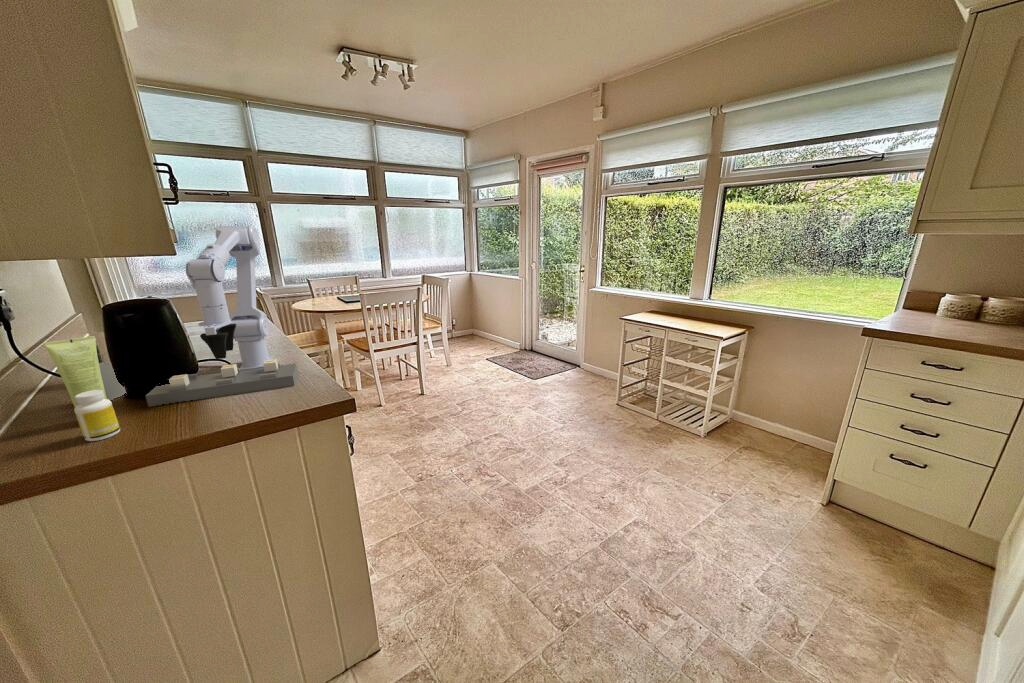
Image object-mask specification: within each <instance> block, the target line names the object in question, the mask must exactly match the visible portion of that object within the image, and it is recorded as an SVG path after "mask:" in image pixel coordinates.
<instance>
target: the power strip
mask: <svg viewBox="0 0 1024 683" xmlns="http://www.w3.org/2000/svg"><path fill="white" fill-rule="evenodd" d="M237 370H238V373H237V375H236V376H231V377H222V373H221V372H220V373H211V374H205V375H198V374H197V373H191V374H187V375H188V378H189V382H190V383H189V384H188V385H187V386H186V385H179V386H171V387H170V384H165V385H161V386H157V385H156V386H155V387H154V388H153V389H151V390H150V391H149V392H148V393H146V395H145V399H146V403H147V406H148V408H149V407H151V408H152V407H157V405H158V406H163V405H162V404H165V405H169V403H172V404H176V403H175V402H179V403H183V402H182V401H186V402H190V400H193V401H197V400H198V399H199V400H204V398H206V399H212V398H211V397H213V398H218V397H217V396H220V397H226V396H225V395H227V396H231V395H232V396H233V395H239V394H245V393H252V392H259V391H267V390H274V389H280V388H287V386H288V387H293V385H295V386H296V383H297V382H296V381H297V378H298V374H299V371H298V364H297V363H290V364H289V363H288V364H282V365H281V363H278V369H277V371H269V372H265V370H264V367H262V368H254V369H246V370H240V367H238V368H237ZM199 400H198V401H199Z"/></svg>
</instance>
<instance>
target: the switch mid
mask: <svg viewBox="0 0 1024 683" xmlns="http://www.w3.org/2000/svg"><path fill="white" fill-rule="evenodd" d="M237 366H238V365H237V363H235V364H224V365H222V366H221V368H220V371H221V372H220V373H222V377H231V376H236V375H237V373H238V370H237V369H238V367H237Z"/></svg>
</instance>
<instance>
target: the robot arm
mask: <svg viewBox="0 0 1024 683" xmlns="http://www.w3.org/2000/svg"><path fill="white" fill-rule="evenodd" d="M215 237H216V240H215V242H214V243H208V244H207V245H206V247H205V248H204V249H203V250H202V251H201V253H200V254H199V255H198V257H196V259H190V260H189V261H188V262H186V265H185V274H186V276H187V279H188V280H189V282H190V283H191V288H193V290H195V292H196V297H197V301H198V304H199V310H200V313H201V317H202V321H200V322H198V323H197V325H198V327H204V332H205V333H203V332H202V333H200V335H199V337H200V339H201V340H202V341H203V342H204V343H206V345H207V346H208V348H209V350H210V351H211V353H212V355H213V357H214V358H215V359H216V360H220V359H222V360H223V359H226V358H227V351H228V352H229V351H233V350H234V342H237V344H238V350H239V355H240V360H241V365H240V367H239V368H240V371H241V370H249V369H257V368H264V365H263V363H264V361H266V360H274V357H273V356H270V354H269V350H268V349H269V348H268V344H267V341H266V338H265V337H267V336H268V334H269V332H270V325H269V322H268V316H267V314H266V313H265V312H264V311H263V310H260V309H259V308H257V286H256V284H257V283H256V282H257V281H256V257H257V256H259V255H260V254H261V253H260V252H261V241H260V239H261V238H260V235H259V232H258V230H257V228H256V227H255V226H254V225H252V224H251V225H217V227H216V229H215ZM231 257H233V258H234V259H235V260H236V261H235V262H236V263H235V265H236V266H235V267H236V291H237V292H236V293H237V294H236V296H237V300H236V301H237V308H236V309H234V310H233V311H231V312H230V313H229V308H228V304H227V303H228V302H227V300H226V294H225V291H224V287H223V286H224V285H223V280H225V272H226V266H227V264H228V262H229V260H230V259H231Z"/></svg>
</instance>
